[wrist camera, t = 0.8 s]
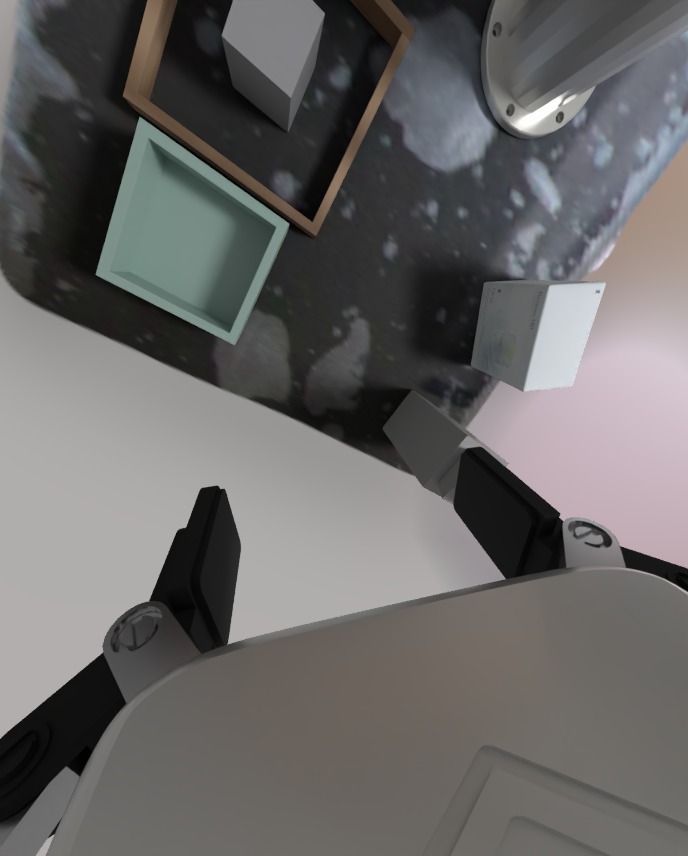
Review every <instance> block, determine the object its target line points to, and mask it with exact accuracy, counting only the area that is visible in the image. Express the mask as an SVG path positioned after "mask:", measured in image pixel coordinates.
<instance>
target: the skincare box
mask: <svg viewBox="0 0 688 856" xmlns="http://www.w3.org/2000/svg"><path fill="white" fill-rule="evenodd" d="M605 285H606V283H605V282H584V281H545V280H515V281H496V282H485V283H484V285H483V292H482V298H481V304H480V310H479V317H478V323H477V329H476V335H475V342H474V348H473V354H472V360H471V367H474V368H476V369H478V370H480V371H482V372H484V373H486V374H488V375H490V376H492V377H494V378H496V379H499V380H501V381H503V382H505V383H507V384H509V385H511V386H513V387H515V388H517V389H519V390H521V391H523V392H528V391H538V390H548V389H557V388H566V387H571V386H572V385H573V382H574V378H575V376H576V373H577V370H578V366H579V363H580V360H581V357H582V354H583V351H584V348H585V345H586V342H587V339H588V336H589V333H590V330H591V327H592V324H593V321H594V318H595V315H596V312H597V309H598V306H599V303H600V300H601V296H602V294H603V290H604V287H605Z"/></svg>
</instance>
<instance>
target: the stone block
mask: <svg viewBox="0 0 688 856" xmlns="http://www.w3.org/2000/svg"><path fill="white" fill-rule="evenodd" d="M324 16H325V13H324V12H323V11H322V10H321V9H320V8H319V7H318V6H317V5H316V4H315V2H314V1H313V0H233V2H232V6H231V9H230V12H229V15H228V18H227V21H226V24H225V27H224V30H223V33H222V40H223V45H224V49H225V54H226V58H227V62H228V67H229V71H230V76H231V80H232V85H233V87H234V88H235V89H236V90H237V91H238V92H240V93H241V94H242V95H243V96H244V97H246V98H247V99H248V100H249V101H250V102H252V103H253V104H254V105H255V106H256V107H257V108H259V109H260V110H261V111H262V112H263V113H265V114H266V115H267V116H268V117H269V118H271V119H272V120H273V121H274V122H275V123H276V124H278V125H279V126H280V127H281V128H282V129H284V130H285V131H286V132H287V133H288V132H289V129H290V127H291V124H292V122H293V119H294V117H295V115H296V112H297V110H298V107H299V105H300V103H301V100H302V98H303V95H304V93H305V90H306V88H307V86H308V83H309V81H310V78H311V76H312V74H313V71H314V69H315V64H316V59H317V53H318V48H319V43H320V37H321V32H322V26H323V21H324Z"/></svg>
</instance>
